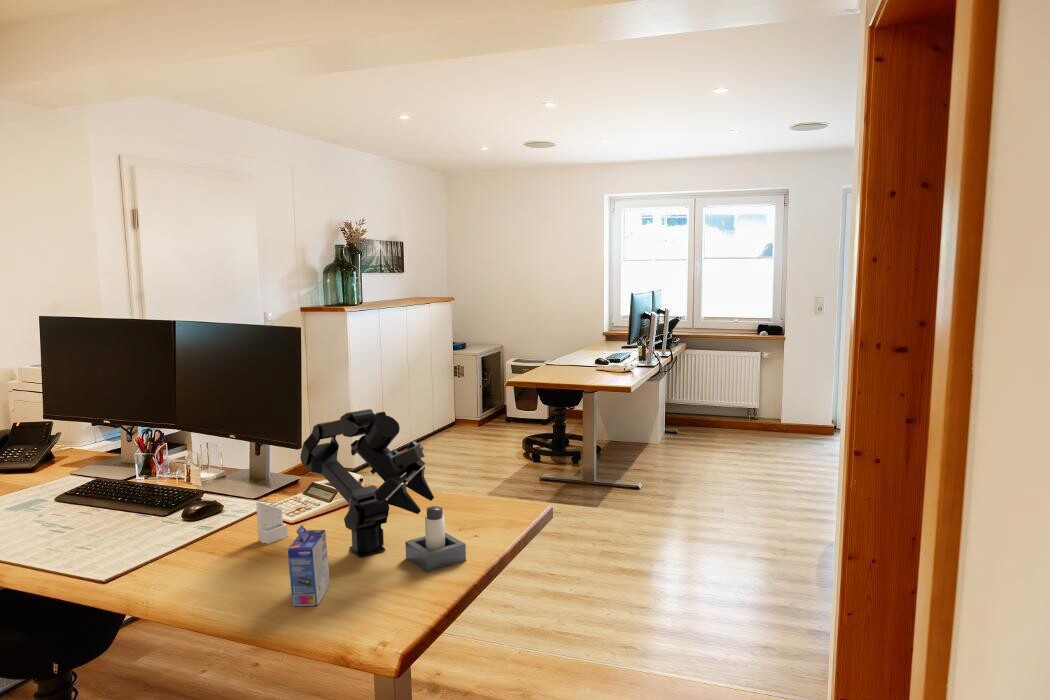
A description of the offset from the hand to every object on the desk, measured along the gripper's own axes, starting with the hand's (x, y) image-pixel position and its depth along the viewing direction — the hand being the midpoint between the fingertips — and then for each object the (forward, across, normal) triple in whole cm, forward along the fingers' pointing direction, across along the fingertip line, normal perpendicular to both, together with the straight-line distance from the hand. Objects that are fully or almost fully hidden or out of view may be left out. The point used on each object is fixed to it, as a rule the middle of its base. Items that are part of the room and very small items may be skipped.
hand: (426, 505), depth 158 cm
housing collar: (+10, 0, +8) cm, 13 cm away
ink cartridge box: (-4, -21, +22) cm, 31 cm away
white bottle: (+10, 0, +8) cm, 13 cm away
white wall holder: (-21, +5, +39) cm, 45 cm away
